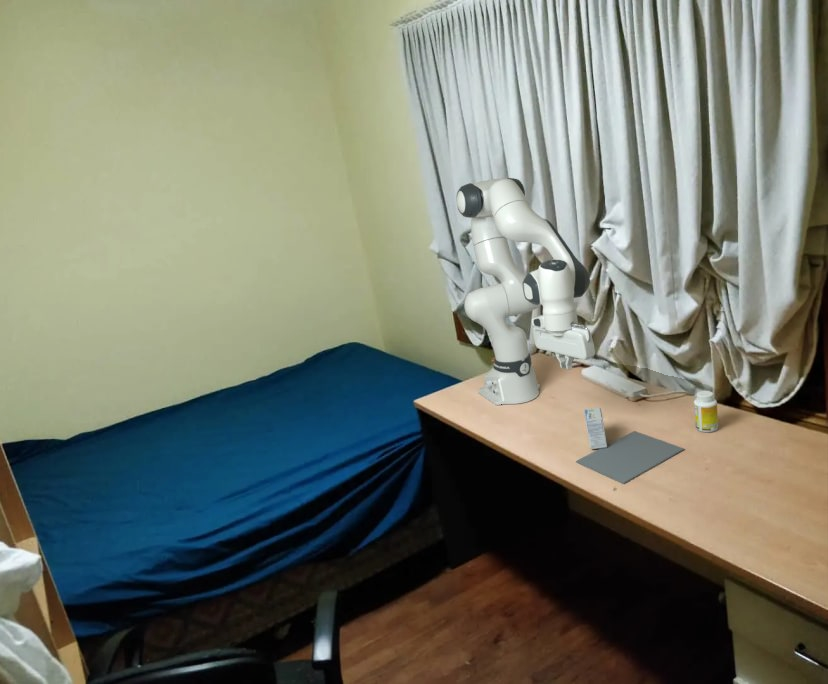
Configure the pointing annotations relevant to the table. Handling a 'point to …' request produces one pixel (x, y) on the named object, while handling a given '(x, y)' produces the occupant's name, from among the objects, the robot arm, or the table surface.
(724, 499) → the table surface
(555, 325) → the robot arm
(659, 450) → the mat
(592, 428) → the medicine box
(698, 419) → the supplement bottle
